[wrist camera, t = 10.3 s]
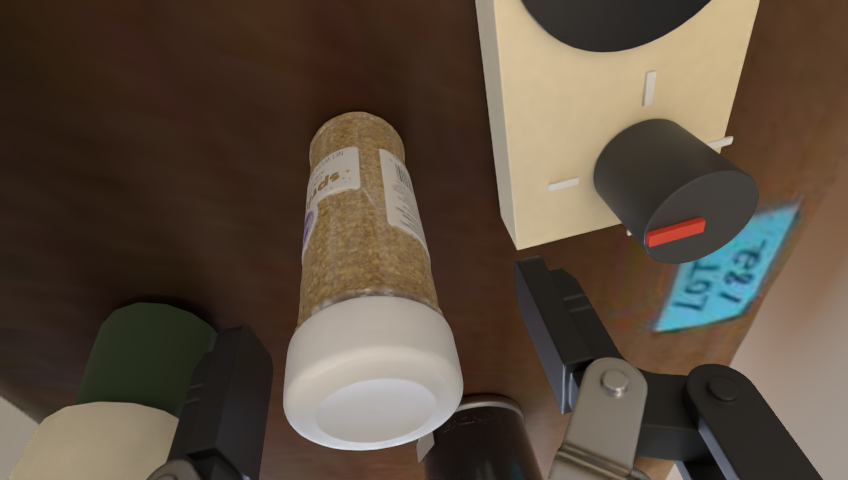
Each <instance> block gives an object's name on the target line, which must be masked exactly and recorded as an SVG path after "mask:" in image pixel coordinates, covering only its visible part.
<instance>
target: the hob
mask: <svg viewBox="0 0 848 480" xmlns="http://www.w3.org/2000/svg"><path fill="white" fill-rule="evenodd" d="M759 1H760V0H711V1H710V2H709V3H708V4H707V5H706V6H705V7H704V8H702V9H701V10H700V11H699V12H698V13H697V14H696V15H695V16H693V17H692V18H691V19H689V20H688V21H686V22H685V23H684V24H682V25H681V26H680V27H678V28H676V29H675V30H673V31H671V32H670V33H668V34H666V35H665V36H663V37H661V38H659V39H657V40H654V41H652V42H650V43H648V44H645V45H642V46H639V47H636V48H633V49H628V50H623V51H618V52H604V53H601V52H590V51H584V50H581V49H577V48H573V47H571V46H569V45H566V44H564V43H562V42H560V41H559V40H557V39H555V38H554V37H552V36H551V35H549V34H548V33H547V32H546V31H544V30H543V29H542V28H541V27H540V26H539V25H538V24H537V23H536V22H535V21H534V20H533V18H532V17H531V16H530V14H529V13H528V12H527V11H526V9H525V7H524V5H523V4H522V2H521V0H475V2H476V11H477V19H478V27H479V36H480V44H481V53H482V61H483V69H484V78H485V86H486V94H487V103H488V111H489V119H490V128H491V136H492V145H493V153H494V161H495V170H496V178H497V186H498V195H499V203H500V211H501V217H502V219H503V221H504V224H505V226H506V228H507V230H508V232H509V234H510V236H511V238H512V240H513V242H514V244H515V246H516V248H517V250H520V249H524V248H528V247H532V246H536V245H540V244H543V243H547V242H551V241H555V240H559V239H563V238H567V237H570V236H574V235H578V234H582V233H586V232H590V231H594V230H598V229H601V228H605V227H609V226H613V225H617V224H621V223H622V222H621V221H620V220H619V219H618V217H617V216H616V215H615V214H614V212H613V211H612V210H611V209H610V208H609V206H608V205H607V204H606V203H605V202H604V200H603V199H602V198H601V197H600V196H599V194H598V193H597V191H596V189H595V186H594V180H593V176H594V169H595V165H596V163H597V160H598V158H599V156H600V154H601V153H602V151H603V150H604V149H605V147H606V146H607V145H608V144H609V143H610V141H611V140H612V139H614V138H615V137H616V136H617V135H618V134H619V133H621V132H622V131H624V130H625V129H627V128H629V127H630V126H632V125H634V124H637V123H639V122H642V121H646V120H650V119H666V120H670V121H673V122H675V123H677V124H679V125H680V126H681V127H683V128H684V129H686V130H687V131H688V132H690V133H691V134H693V135H694V136H695V137H697V138H698V139H700V140H701V141H702V142H704V143H705V144H707V145H708V146H709V147H711V148H712V149H714V150H715V151H716V152H718V153H719V154H720V151H721V147H722V146H726V145H730V144H732V141H733V137H732V136H729V137H725V138H724V135H725V132H726V128H727V124H728V120H729V116H730V112H731V109H732V105H733V101H734V97H735V93H736V89H737V86H738V82H739V78H740V74H741V70H742V66H743V63H744V59H745V55H746V51H747V47H748V43H749V40H750V36H751V32H752V28H753V24H754V20H755V17H756V13H757V9H758V5H759ZM627 235H628V236H629V235H632V234H631V233H630V232H629V231H628V229H627Z"/></svg>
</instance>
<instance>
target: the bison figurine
mask: <svg viewBox="0 0 848 480" xmlns="http://www.w3.org/2000/svg"><path fill="white" fill-rule="evenodd" d="M631 480H651V479H650V477H649V476H648V475H647V474H645V473H644V472H642V471H641V470H639V469H637V468H636V467H632V473H631Z"/></svg>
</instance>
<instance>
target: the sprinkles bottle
mask: <svg viewBox="0 0 848 480" xmlns="http://www.w3.org/2000/svg"><path fill="white" fill-rule="evenodd" d="M309 159H310V165H311V172H310V179H309V183H308V189H307V201H306V215H305V226H304V238H303V250H302V266H303V270H302V281H301V289H300V303H299V316H298V321H297V324H298V326H297V327H296V329H295V332H294V335H293V337H292V339H291V341H290V344H289V348H288V352H287V361H286V369H285V381H284V395H283V406H284V411H285V415H286V417H287V419H288V421H289V423H290V424H291V426H292V427H293V428H294V429H295V430H296V431H297V432H298V433H299V434H300V435H302V436H303V437H305V438H307V439H309V440H310V441H313V442H315V443H318V444H321V445H324V446H327V447H331V448H337V449H345V450H373V449H380V448H387V447H392V446H396V445H401V444H404V443H407V442H410V441H413V440H415V439H418V438H420V437H422V436H424V435H426V434H428V433H430V432H432V431H433V430H435V429H436V428H438V427H439V426H441V425H442V424H443V423H444V422H446V421H447V420H448V419H449V418H450V417H451V416H452V414H453V413H454V412H455V410H456V409H457V407H458V405H459V403H460V401H461V398H462V394H463V379H462V373H461V368H460V364H459V359H458V354H457V350H456V346H455V342H454V338H453V334H452V331H451V329H450V327H449V325H448V323H447V322H446V320H445V319H444V316H443V313H442V312H441V310H440V309H439V306H438V300H437V296H436V291H435V287H434V282H433V277H432V275H431V269H430V257H429V253H428V249H427V245H426V241H425V237H424V233H423V229H422V225H421V221H420V217H419V212H418V208H417V203H416V199H415V195H414V191H413V187H412V183H411V179H410V176H409V173H408V171H407V170H406V167H405V163H404V162H405V152H404V146H403V143H402V140H401V138H400V136H399V135H398V133H397V132H396V130H395V129H394V128H393V127H392V126H391V125H390V124H389V123H387V122H386V121H385V120H383V119H382V118H380V117H377V116H374V115H372V114H369V113H366V112H349V113H344V114H342V115H340V116H337V117H334V118H332V119H330V120H329V121H328V122H326V123H324V124H323V125H322V126H321V127H320V129H319V130H318V131H317V133H316V135H315V136H314V138H313V140H312V142H311V144H310V152H309Z"/></svg>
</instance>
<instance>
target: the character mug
mask: <svg viewBox="0 0 848 480" xmlns="http://www.w3.org/2000/svg"><path fill="white" fill-rule="evenodd" d="M216 337H217V333H216V332H215V330H214V329H213V328H212V327H211V326H210V325H209V324H207V323H206V322H204V321H203V320H201V319H200V318H198V317H197V316H195V315H194V314H192V313H190V312H187V311H184V310H181V309H178V308H175V307H173V306H170V305H167V304H155V303H139V302H138V303H135V304H132V305H129V306H126V307H123V308H120V309H117V310H115V311H114V312H113V313H112V314H111V315H110V316H109V317H108V318H107V319H106V321H105V322H104V323H103V324H102V325H101V328H100V330H99V333H98V335H97V338H96V340H95V343H94V346H93V348H92V351H91V353H90V357H89V360H88V363H87V366H86V369H85V372H84V375H83V379H82V382H81V385H80V388H79V391H78V394H77V397H76V404H77V405H75V406H69V407H65V408H63V409H61V410H60V411H58V412H56V413H54V414H52V415H50V416H48V417H47V418H45V419H44V420H43V421H42V423H41V424H40V425H39V427H38V428H37V429H36V431H35V432H34V434H33V436H32V437H31V439H30V441H29V442H28V444H27V446H26V447H25V449H24V451H23V453H22V455H21V457H20V458H19V460H18V462H17V464H16V465H15V467H14V469H13V471H12V473H11V475H10V476H9V478H8V480H146V479H147V478H148V477H149V476H150V475H151V474H152V473H153V472H154V471H155V470H156V469H157V468H158V467H160V466H161V465H163V464H165V463H166V460H167V458H168V455H169V451H170V448H171V445H172V441H173V438H174V435H175V431H176V428H177V425H178V421H179V418H180V415H181V411H182V408H183V405H185V402H184V401H185V398H186V394H187V391H189V384H190V381H191V378H192V374H193V371H194V369H195V367H196V366H197V365H198V363H199V362H200V360H201V359H202V357H203V356H204V354H205V353H207V352H211V351H213V348H214V344H215V340H216Z"/></svg>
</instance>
